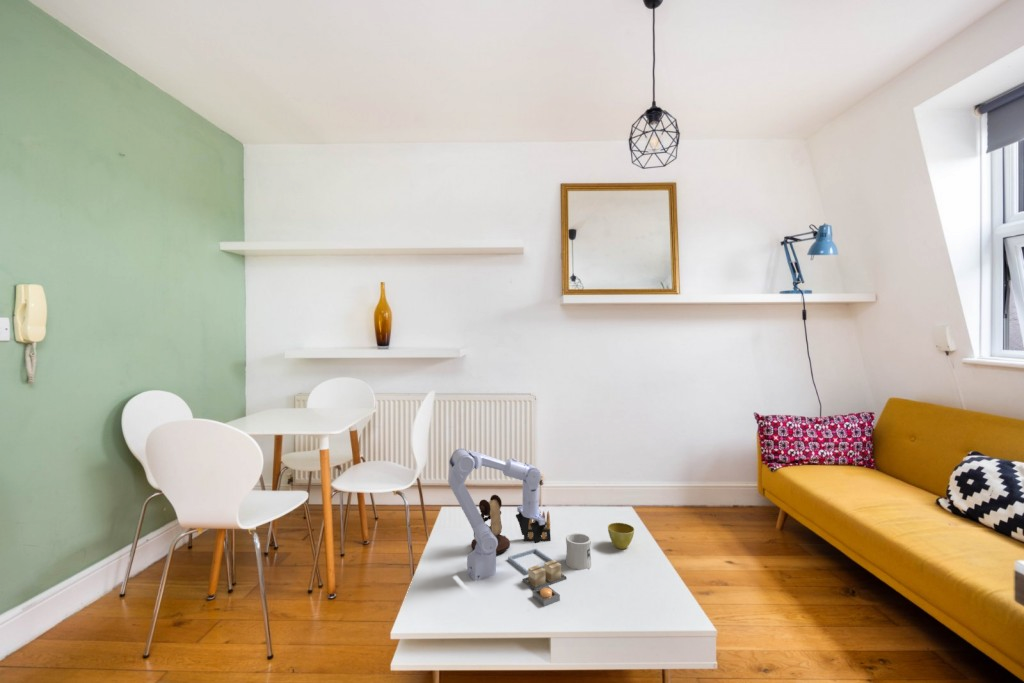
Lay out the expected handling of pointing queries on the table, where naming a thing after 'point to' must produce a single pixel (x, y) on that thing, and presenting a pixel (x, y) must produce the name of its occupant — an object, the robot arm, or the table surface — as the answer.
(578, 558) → the mug
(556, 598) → the button housing
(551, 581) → the plate
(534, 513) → the robot arm
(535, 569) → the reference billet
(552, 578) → the tan cardboard block
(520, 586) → the table surface
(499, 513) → the scroll
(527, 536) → the ammunition clip
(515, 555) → the light blue square tray
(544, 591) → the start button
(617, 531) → the flower pot
